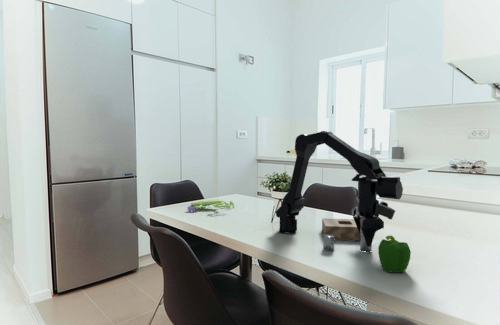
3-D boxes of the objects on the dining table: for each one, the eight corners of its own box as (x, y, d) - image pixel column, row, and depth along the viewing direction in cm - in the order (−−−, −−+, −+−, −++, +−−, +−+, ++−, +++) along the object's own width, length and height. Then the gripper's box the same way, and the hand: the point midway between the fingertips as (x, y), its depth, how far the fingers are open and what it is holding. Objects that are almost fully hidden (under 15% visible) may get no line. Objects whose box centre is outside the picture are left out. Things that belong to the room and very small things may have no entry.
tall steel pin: (361, 252, 103) (361, 228, 103) (358, 248, 107) (359, 225, 106) (372, 253, 103) (373, 228, 102) (370, 249, 106) (370, 225, 106)
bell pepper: (399, 263, 94) (400, 230, 93) (415, 275, 85) (416, 239, 85) (371, 264, 93) (372, 231, 93) (384, 276, 85) (385, 239, 84)
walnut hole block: (325, 239, 117) (325, 226, 117) (322, 230, 129) (322, 218, 129) (370, 241, 115) (370, 227, 115) (362, 231, 127) (363, 219, 127)
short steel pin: (323, 251, 105) (323, 237, 104) (322, 247, 108) (322, 234, 108) (334, 251, 104) (335, 238, 104) (333, 247, 108) (333, 235, 108)
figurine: (227, 216, 156) (227, 204, 156) (179, 212, 164) (179, 201, 163) (239, 208, 174) (239, 198, 173) (195, 205, 181) (195, 196, 181)
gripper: (402, 201, 93) (401, 253, 94) (384, 191, 112) (383, 235, 113) (363, 200, 95) (362, 251, 96) (351, 191, 113) (351, 233, 114)
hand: (365, 242), depth 105 cm, fingers open, 8 cm apart
